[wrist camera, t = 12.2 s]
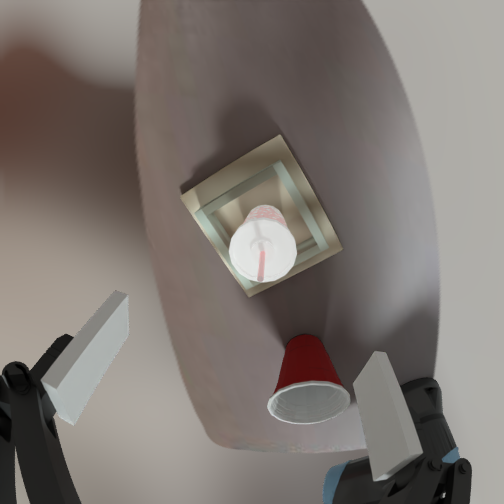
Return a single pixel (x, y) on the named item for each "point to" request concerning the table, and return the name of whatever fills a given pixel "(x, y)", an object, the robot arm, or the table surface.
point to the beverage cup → (263, 246)
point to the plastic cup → (307, 385)
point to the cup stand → (263, 193)
